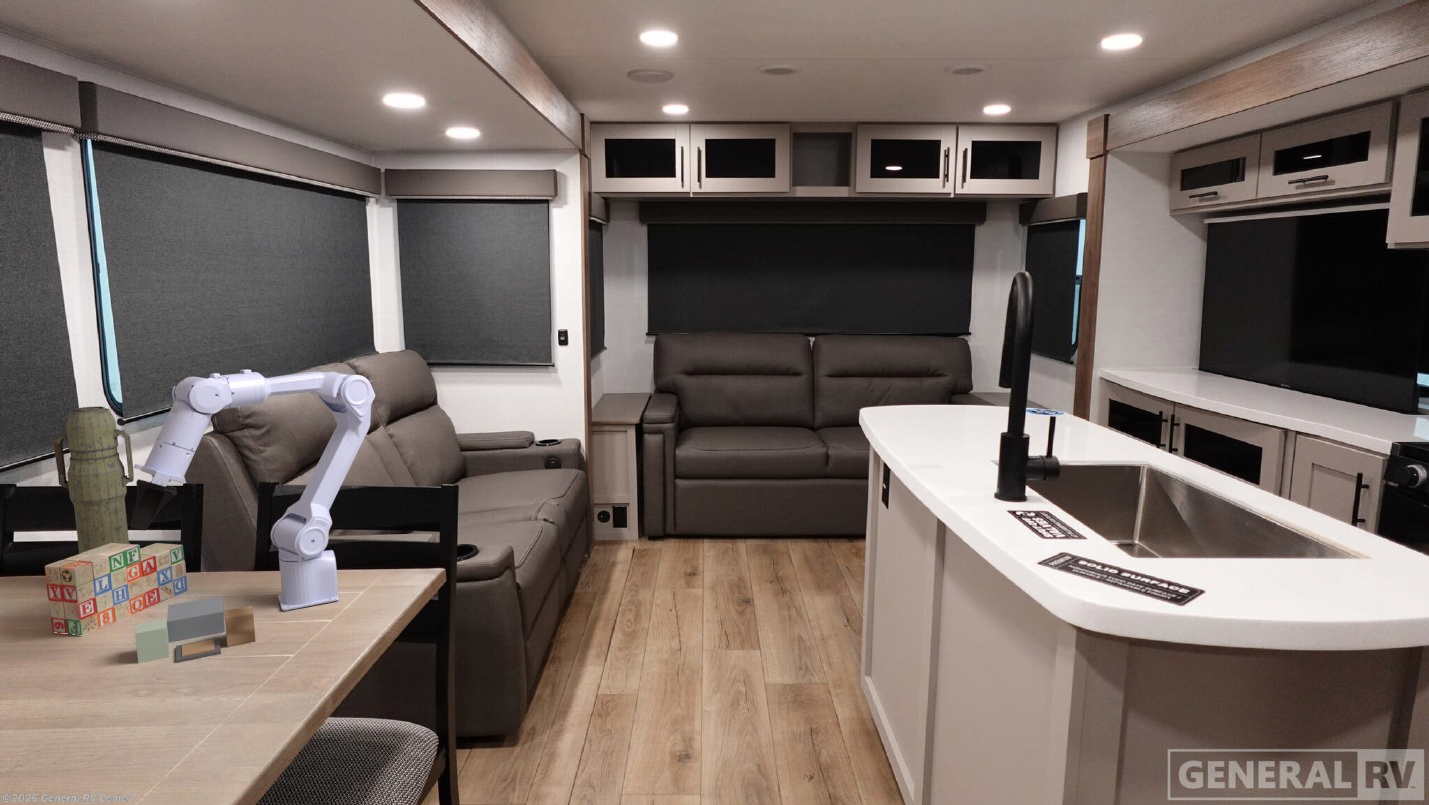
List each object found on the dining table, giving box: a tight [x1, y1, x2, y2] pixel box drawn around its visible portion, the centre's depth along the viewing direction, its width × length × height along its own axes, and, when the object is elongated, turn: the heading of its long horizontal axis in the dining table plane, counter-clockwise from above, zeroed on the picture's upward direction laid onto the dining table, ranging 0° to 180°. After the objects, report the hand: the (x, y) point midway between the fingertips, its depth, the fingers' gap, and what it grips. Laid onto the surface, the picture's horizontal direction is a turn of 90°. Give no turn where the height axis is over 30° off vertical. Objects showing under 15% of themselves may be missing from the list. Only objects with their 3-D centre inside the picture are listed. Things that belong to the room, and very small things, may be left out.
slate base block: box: [166, 595, 226, 644], centre depth 138 cm, size 8×8×4 cm
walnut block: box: [224, 604, 257, 648], centre depth 134 cm, size 4×4×5 cm
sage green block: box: [134, 618, 170, 664], centre depth 128 cm, size 4×4×5 cm
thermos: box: [52, 406, 135, 554], centre depth 156 cm, size 9×12×35 cm
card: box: [175, 637, 222, 664], centre depth 130 cm, size 6×6×1 cm
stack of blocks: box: [44, 542, 188, 635], centre depth 145 cm, size 21×6×12 cm, turn 168°
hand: (138, 526), depth 128 cm, fingers open, 7 cm apart
